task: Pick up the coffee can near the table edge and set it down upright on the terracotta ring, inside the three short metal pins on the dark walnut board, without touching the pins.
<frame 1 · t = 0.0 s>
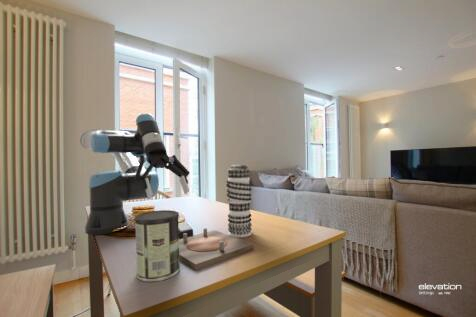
hand: (169, 194, 84), 15 cm above the table, tool tilted 35°, fingers open, 13 cm apart
coffee can: (158, 272, 60), on the table
pin board: (207, 248, 74), on the table
decorative candle: (239, 234, 88), on the table
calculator: (168, 239, 85), on the table
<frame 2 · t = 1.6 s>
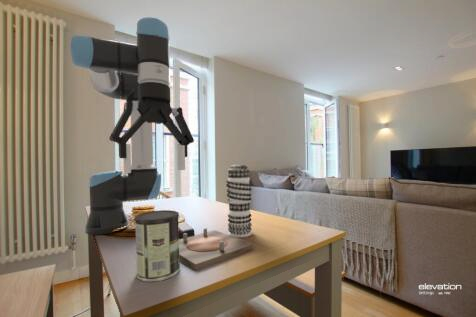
hand: (156, 171, 60), 25 cm above the table, tool pointing down, fingers open, 13 cm apart
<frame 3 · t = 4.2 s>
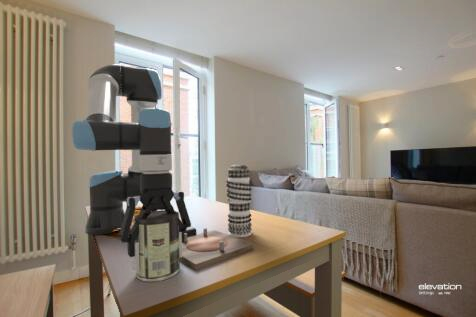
hand: (158, 262, 60), 2 cm above the table, tool pointing down, fingers closed on coffee can, 10 cm apart
coffee can: (158, 272, 60), on the table, touching gripper
when the fingers open (5 cm above the table, at t = 10.8 s): coffee can drops 1 cm, resting on pin board.
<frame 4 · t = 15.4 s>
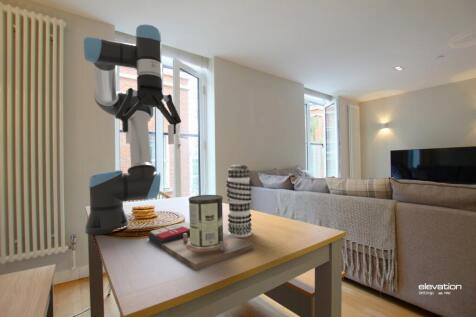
hand: (151, 143, 77), 33 cm above the table, tool pointing down, fingers open, 13 cm apart
coffee can: (206, 243, 74), point 2 cm above the table, touching pin board
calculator: (176, 240, 84), on the table
everything else where it was.
at the end: coffee can 0.1 cm off-centre on the pin board, point 1.5 cm above the pin board's base; coffee can tilted 0°; the gripper is holding nothing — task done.
